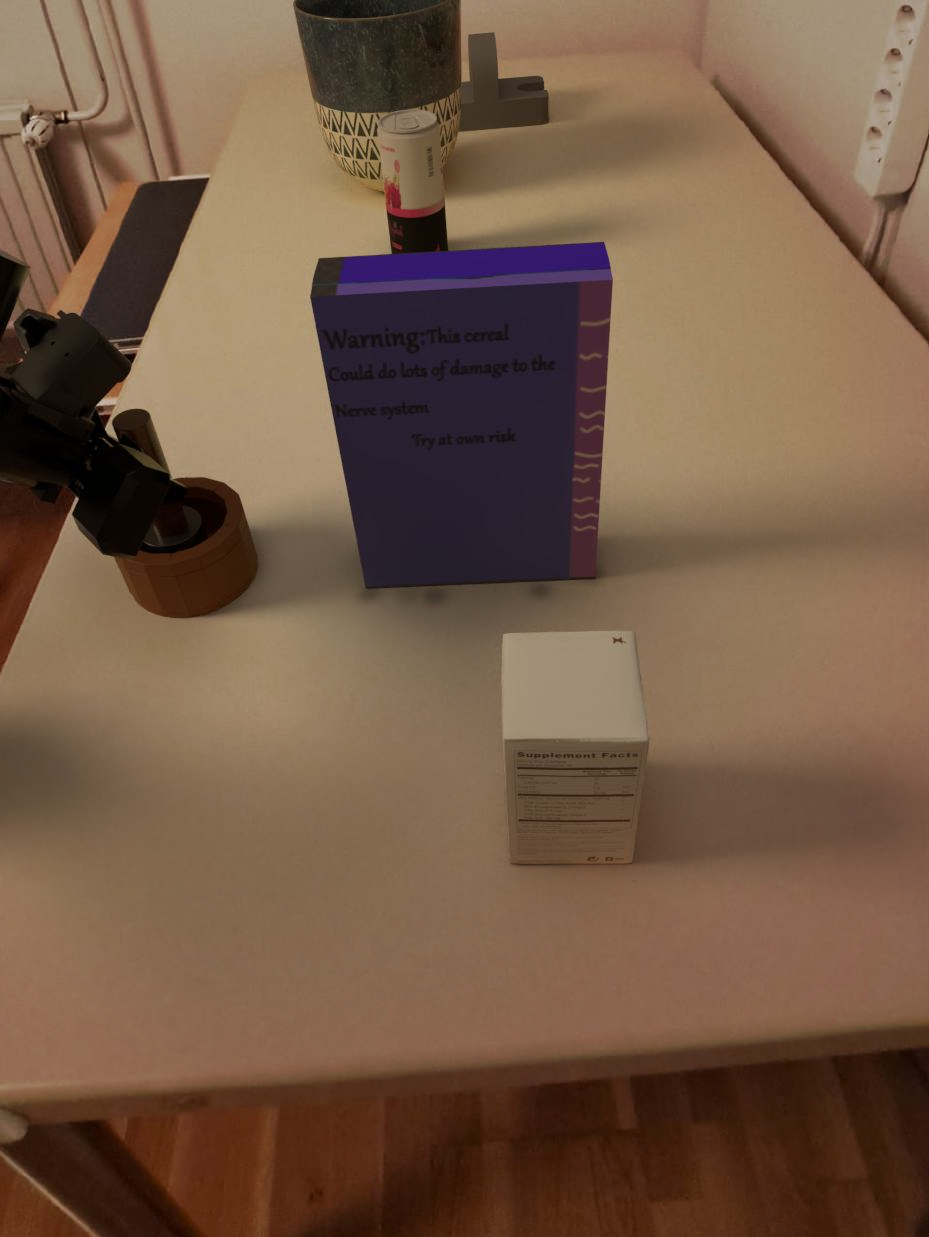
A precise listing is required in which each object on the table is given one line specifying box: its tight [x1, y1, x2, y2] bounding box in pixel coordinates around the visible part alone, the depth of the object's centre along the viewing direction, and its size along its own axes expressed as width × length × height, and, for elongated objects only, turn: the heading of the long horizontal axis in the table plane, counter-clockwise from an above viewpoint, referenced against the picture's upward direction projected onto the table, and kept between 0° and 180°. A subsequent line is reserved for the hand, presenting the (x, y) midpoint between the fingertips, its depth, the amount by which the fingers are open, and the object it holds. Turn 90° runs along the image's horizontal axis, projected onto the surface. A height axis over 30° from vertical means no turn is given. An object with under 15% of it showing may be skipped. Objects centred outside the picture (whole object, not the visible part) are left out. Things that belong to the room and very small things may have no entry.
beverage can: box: [377, 109, 449, 254], centre depth 103 cm, size 7×6×15 cm
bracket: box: [458, 31, 550, 132], centre depth 135 cm, size 10×18×11 cm, turn 93°
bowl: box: [113, 476, 259, 618], centre depth 72 cm, size 10×10×6 cm
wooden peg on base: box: [111, 408, 209, 554], centre depth 69 cm, size 5×5×13 cm
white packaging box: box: [500, 630, 650, 865], centre depth 52 cm, size 7×7×13 cm
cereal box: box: [309, 241, 614, 589], centre depth 64 cm, size 17×5×24 cm, turn 90°
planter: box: [292, 0, 462, 192], centre depth 116 cm, size 20×20×21 cm
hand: (174, 485), depth 69 cm, fingers closed on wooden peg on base, 2 cm apart
